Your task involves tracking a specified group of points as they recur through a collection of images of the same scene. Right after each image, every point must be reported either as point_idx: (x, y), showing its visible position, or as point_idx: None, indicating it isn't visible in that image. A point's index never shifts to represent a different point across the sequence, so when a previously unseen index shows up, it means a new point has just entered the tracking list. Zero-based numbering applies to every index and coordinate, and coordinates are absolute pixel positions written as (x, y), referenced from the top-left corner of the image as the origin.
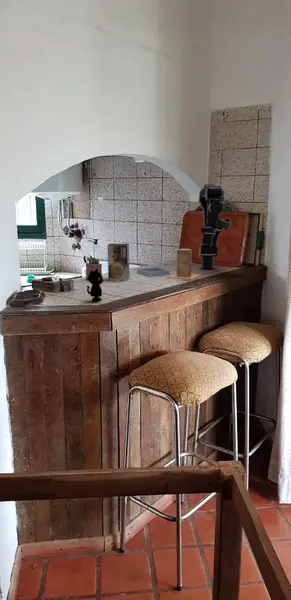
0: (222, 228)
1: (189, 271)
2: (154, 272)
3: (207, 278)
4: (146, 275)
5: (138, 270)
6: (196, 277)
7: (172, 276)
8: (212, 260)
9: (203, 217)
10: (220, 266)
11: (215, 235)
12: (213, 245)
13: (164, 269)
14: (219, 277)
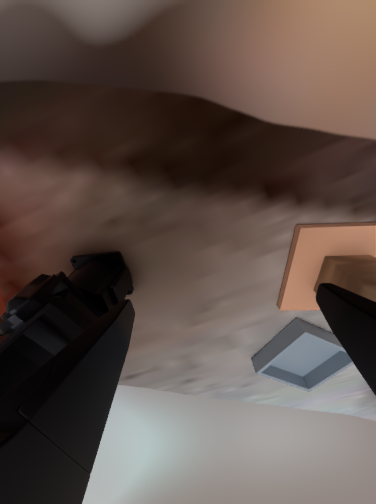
0: None
1: (357, 265)
2: None
3: (322, 188)
4: (339, 355)
5: (312, 385)
6: (353, 225)
7: None
8: (85, 276)
9: None
10: (27, 251)
11: (60, 434)
12: (54, 331)
13: (290, 347)
14: (280, 146)
